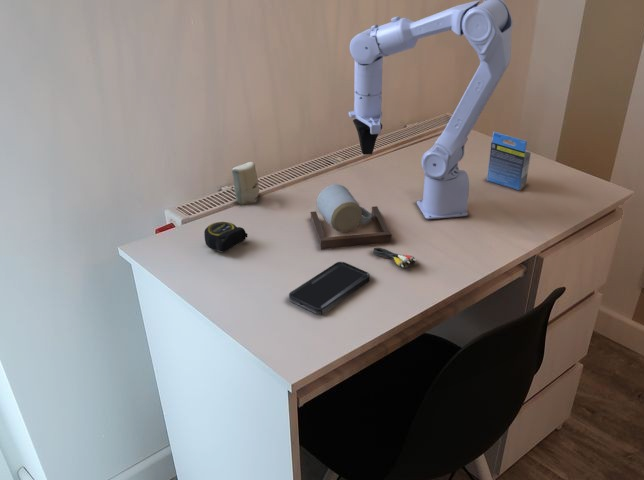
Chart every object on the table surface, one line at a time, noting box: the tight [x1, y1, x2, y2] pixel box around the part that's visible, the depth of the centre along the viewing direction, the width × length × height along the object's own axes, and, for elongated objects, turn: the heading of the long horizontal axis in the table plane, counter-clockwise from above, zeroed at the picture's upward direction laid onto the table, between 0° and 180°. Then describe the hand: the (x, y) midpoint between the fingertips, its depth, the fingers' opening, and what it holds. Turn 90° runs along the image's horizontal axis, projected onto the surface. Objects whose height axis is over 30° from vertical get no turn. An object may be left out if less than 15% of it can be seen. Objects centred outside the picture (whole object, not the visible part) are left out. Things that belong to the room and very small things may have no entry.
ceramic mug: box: [316, 183, 373, 233], centre depth 149 cm, size 11×8×8 cm
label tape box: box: [486, 130, 532, 191], centre depth 167 cm, size 9×4×12 cm, turn 58°
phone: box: [288, 261, 371, 315], centre depth 131 cm, size 8×1×15 cm
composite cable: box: [372, 247, 417, 270], centre depth 140 cm, size 10×5×2 cm, turn 42°
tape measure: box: [203, 221, 248, 253], centre depth 141 cm, size 7×7×4 cm
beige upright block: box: [231, 161, 260, 206], centre depth 155 cm, size 6×5×8 cm
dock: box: [309, 205, 392, 250], centre depth 148 cm, size 14×12×2 cm
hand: (367, 153), depth 158 cm, fingers closed
